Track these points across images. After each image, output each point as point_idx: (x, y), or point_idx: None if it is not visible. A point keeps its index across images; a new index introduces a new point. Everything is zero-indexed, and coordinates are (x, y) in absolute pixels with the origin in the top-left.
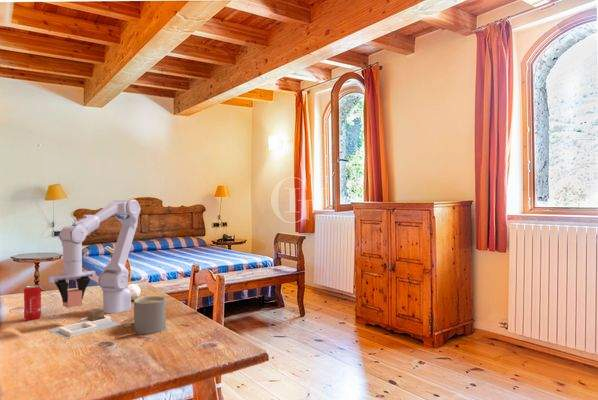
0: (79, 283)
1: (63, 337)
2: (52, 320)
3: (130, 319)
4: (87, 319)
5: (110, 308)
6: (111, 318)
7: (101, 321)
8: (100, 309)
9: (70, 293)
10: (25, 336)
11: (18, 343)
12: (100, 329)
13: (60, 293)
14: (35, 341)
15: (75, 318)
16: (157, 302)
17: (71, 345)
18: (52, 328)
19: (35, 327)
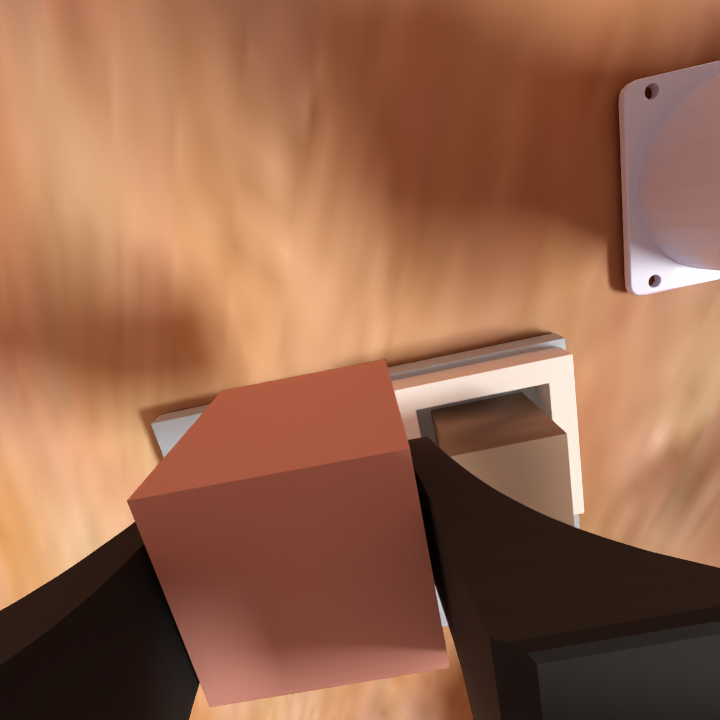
0: (478, 685)
1: None
2: (214, 34)
3: (705, 456)
4: (435, 421)
5: (711, 259)
6: (581, 508)
7: None
8: (558, 492)
9: (251, 682)
10: (28, 406)
11: (5, 524)
12: (445, 623)
13: (98, 557)
14: (96, 545)
15: (403, 118)
16: None
17: (265, 705)
18: (186, 415)
19: (77, 198)
